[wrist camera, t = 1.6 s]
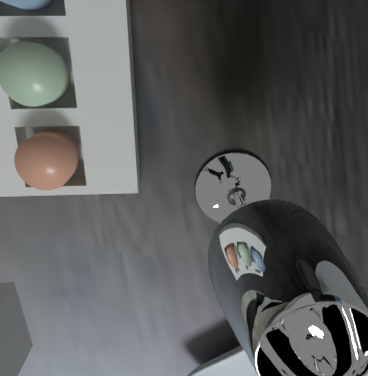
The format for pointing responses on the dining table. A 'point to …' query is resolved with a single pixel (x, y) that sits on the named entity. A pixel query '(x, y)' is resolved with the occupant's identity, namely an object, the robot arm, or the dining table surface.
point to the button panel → (78, 95)
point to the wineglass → (280, 276)
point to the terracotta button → (47, 159)
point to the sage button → (33, 73)
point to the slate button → (29, 4)
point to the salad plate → (227, 365)
